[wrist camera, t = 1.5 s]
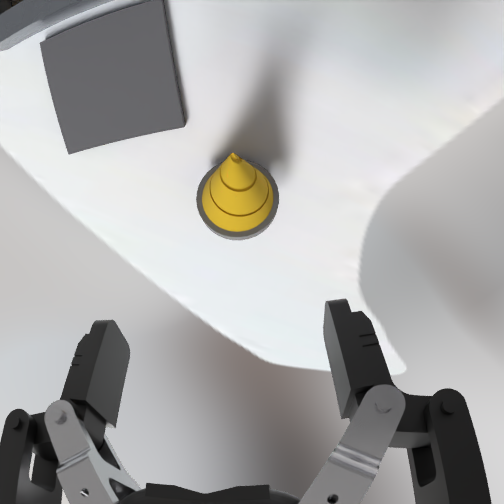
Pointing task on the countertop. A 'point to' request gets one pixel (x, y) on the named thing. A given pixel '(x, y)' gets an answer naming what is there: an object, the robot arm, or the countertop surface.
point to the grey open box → (36, 17)
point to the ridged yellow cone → (237, 199)
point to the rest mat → (114, 77)
